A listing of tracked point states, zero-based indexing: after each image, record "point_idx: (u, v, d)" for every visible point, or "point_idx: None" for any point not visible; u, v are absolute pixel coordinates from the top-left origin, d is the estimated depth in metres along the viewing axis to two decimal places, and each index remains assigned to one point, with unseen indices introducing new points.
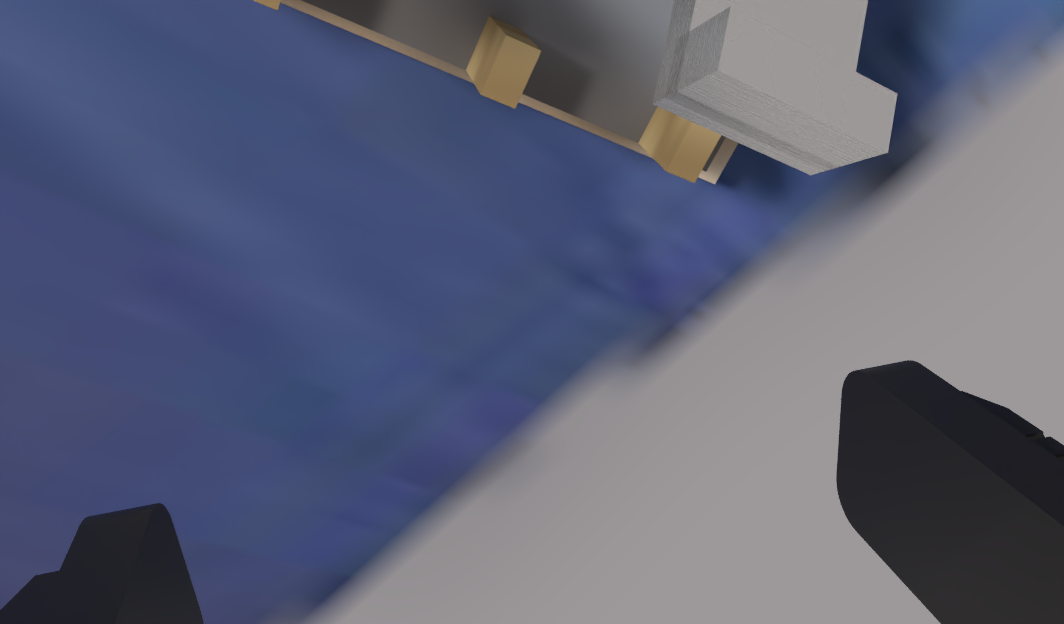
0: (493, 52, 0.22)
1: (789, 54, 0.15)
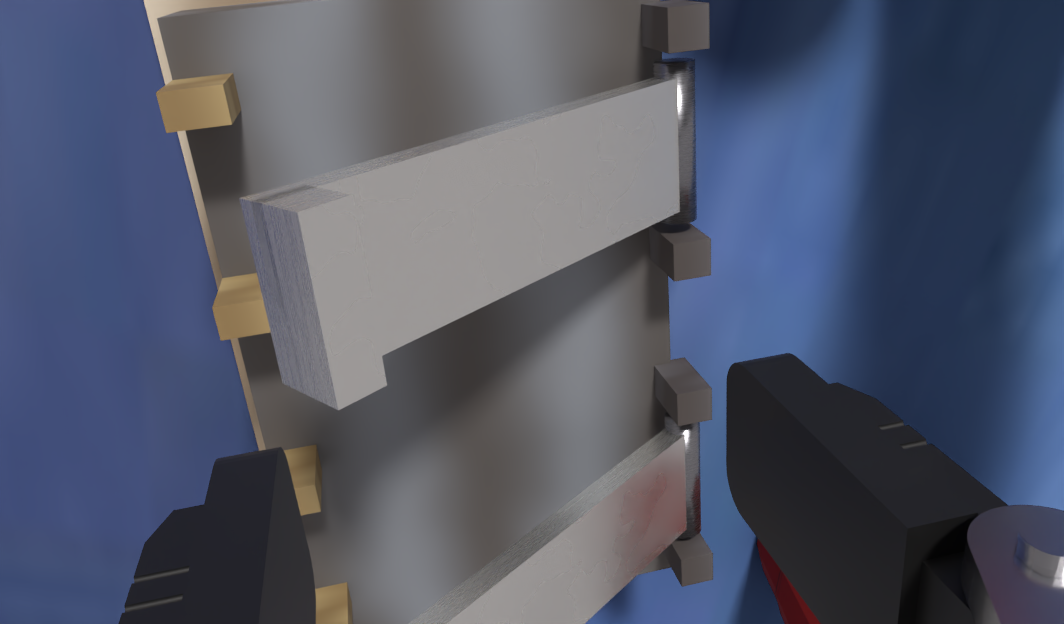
0: (296, 479, 0.26)
1: None
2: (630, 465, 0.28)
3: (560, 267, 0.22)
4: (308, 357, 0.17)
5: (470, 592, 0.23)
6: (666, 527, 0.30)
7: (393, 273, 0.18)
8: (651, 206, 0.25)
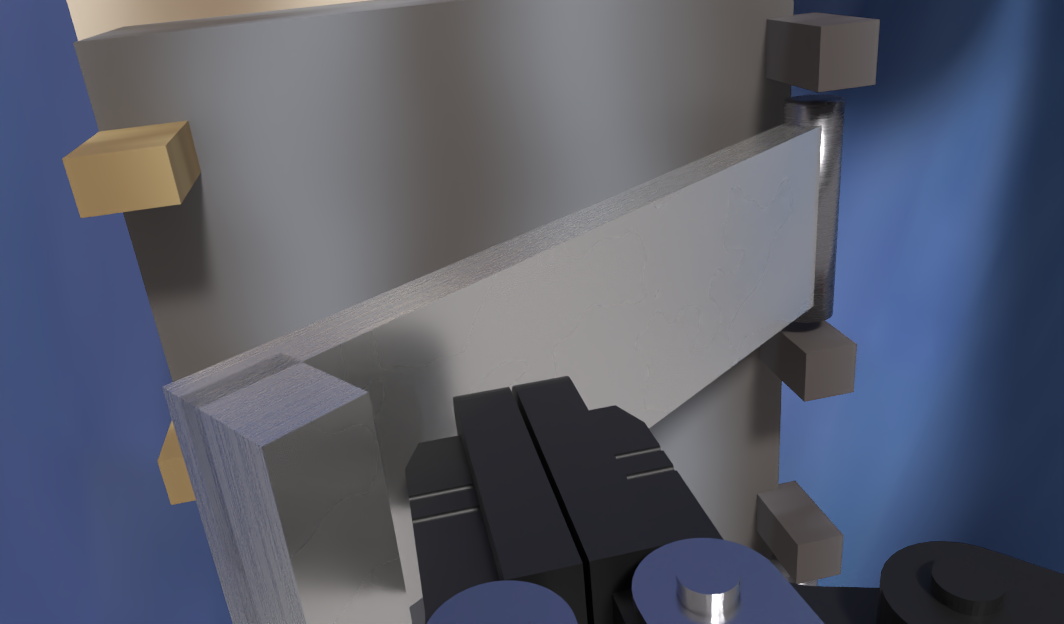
0: None
1: None
2: None
3: (668, 411, 0.15)
4: None
5: None
6: None
7: None
8: (782, 305, 0.18)
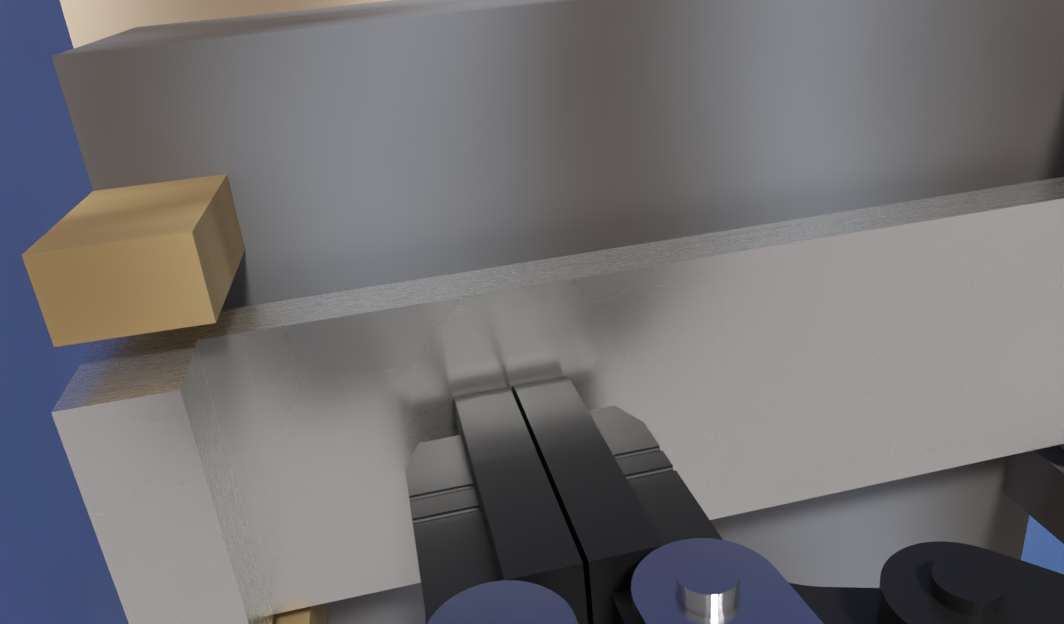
0: None
1: None
2: None
3: (755, 507, 0.12)
4: None
5: None
6: None
7: (363, 484, 0.11)
8: (1015, 423, 0.13)
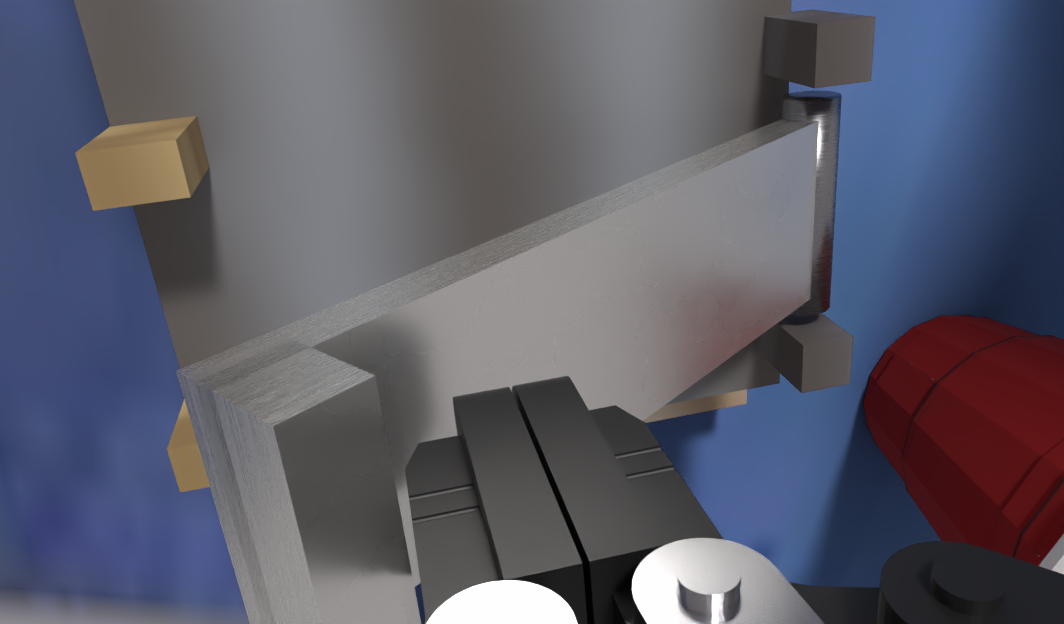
0: (145, 139, 0.15)
1: (372, 500, 0.09)
2: (736, 146, 0.16)
3: None
4: None
5: (453, 271, 0.11)
6: (784, 281, 0.18)
7: None
8: None
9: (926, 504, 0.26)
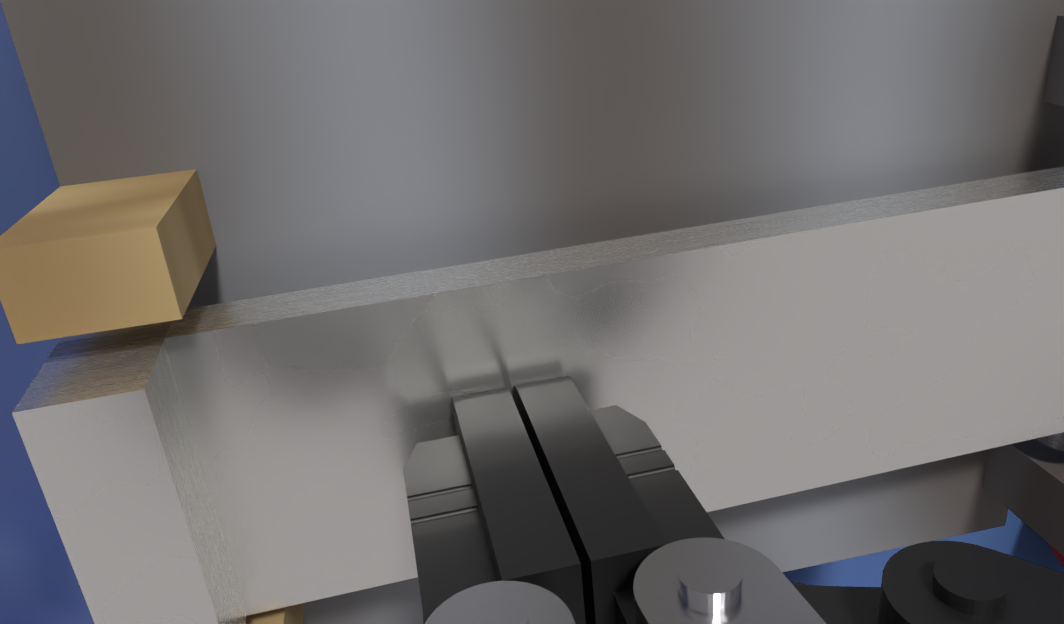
0: (108, 221, 0.09)
1: (149, 511, 0.09)
2: (934, 197, 0.11)
3: None
4: None
5: (388, 290, 0.10)
6: (1008, 395, 0.13)
7: None
8: None
9: None
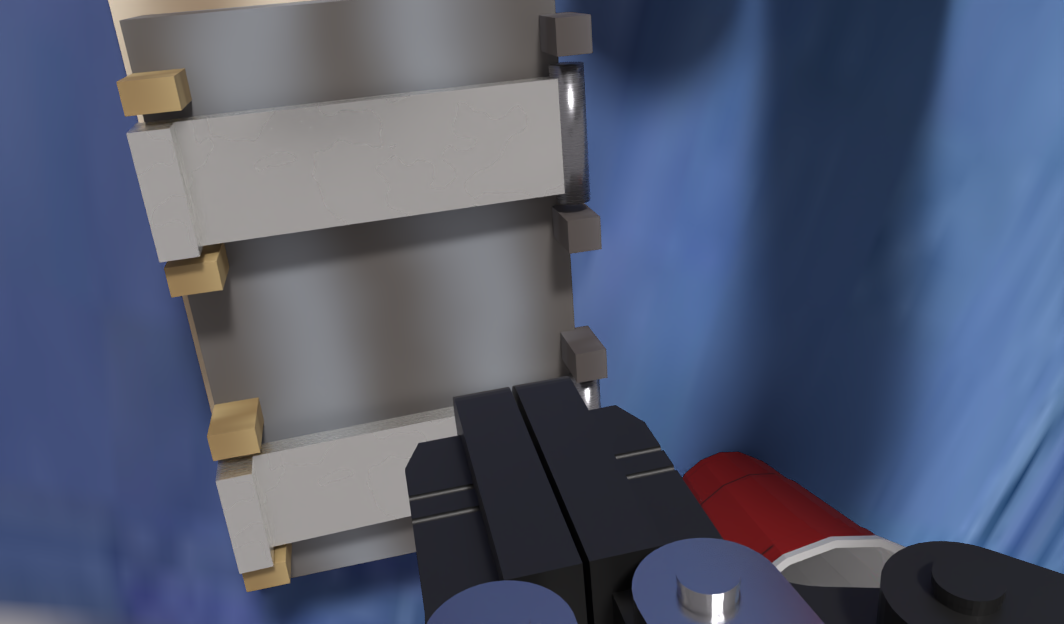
0: (239, 424, 0.30)
1: (250, 508, 0.30)
2: None
3: (409, 214, 0.29)
4: None
5: (321, 438, 0.32)
6: None
7: (238, 188, 0.27)
8: (524, 183, 0.30)
9: None
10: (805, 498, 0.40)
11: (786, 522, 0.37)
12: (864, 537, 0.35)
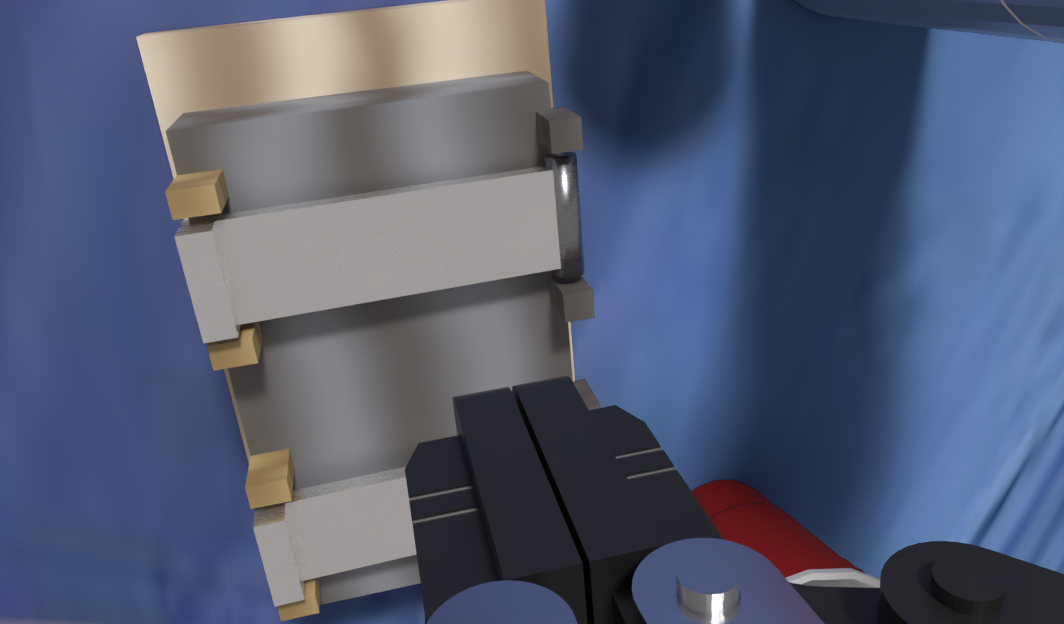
0: (272, 476, 0.34)
1: (283, 550, 0.34)
2: None
3: (421, 291, 0.33)
4: None
5: (346, 485, 0.35)
6: None
7: (271, 275, 0.31)
8: (524, 261, 0.33)
9: None
10: (789, 528, 0.43)
11: (770, 553, 0.41)
12: (838, 570, 0.38)
